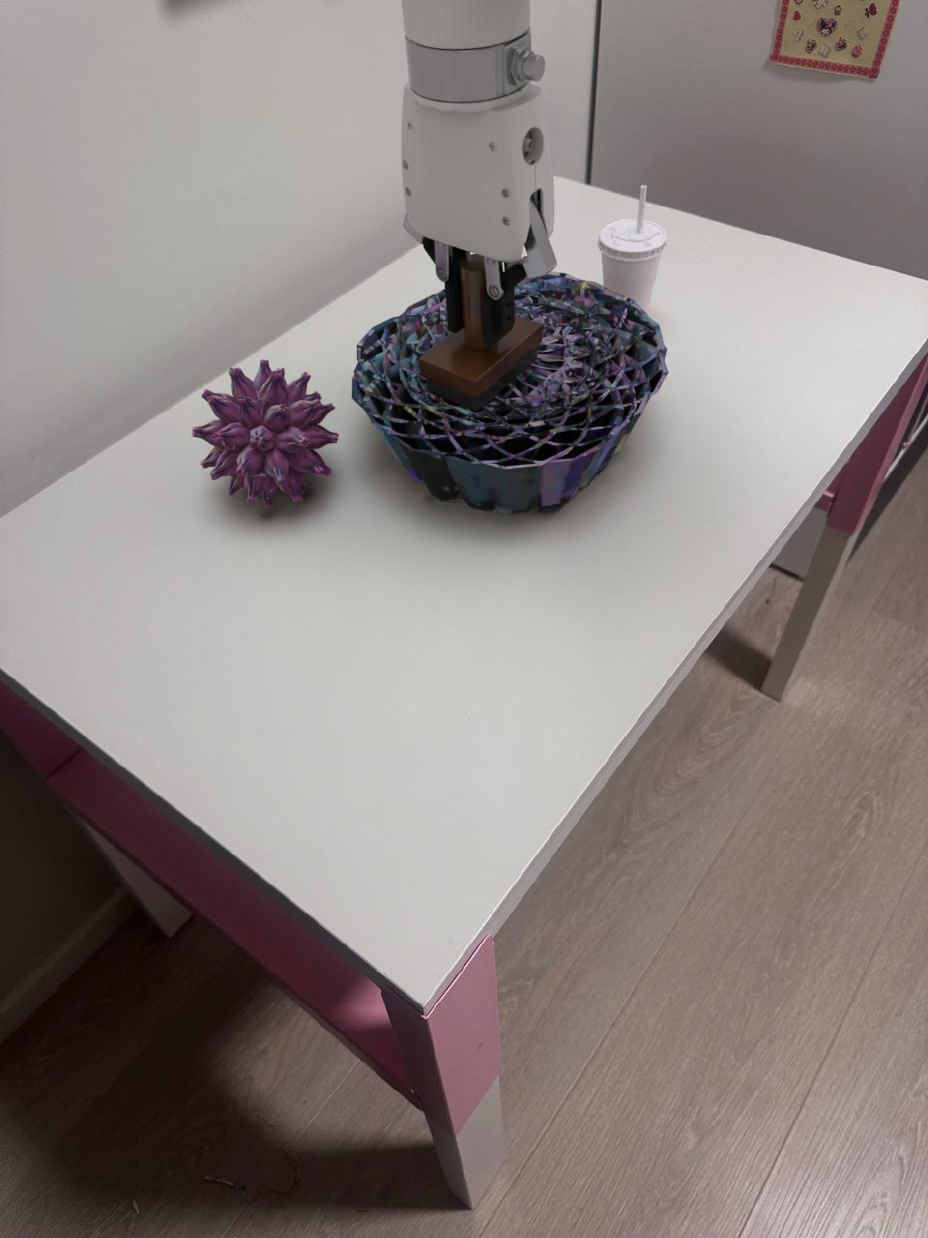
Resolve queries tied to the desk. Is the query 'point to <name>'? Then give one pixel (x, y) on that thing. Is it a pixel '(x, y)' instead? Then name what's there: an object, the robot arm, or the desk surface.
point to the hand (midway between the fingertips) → (481, 328)
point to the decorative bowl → (517, 398)
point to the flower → (266, 434)
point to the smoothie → (632, 255)
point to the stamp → (478, 349)
